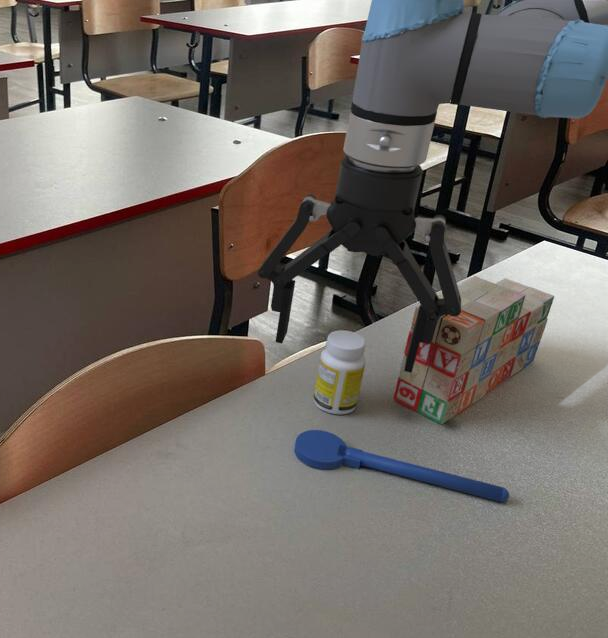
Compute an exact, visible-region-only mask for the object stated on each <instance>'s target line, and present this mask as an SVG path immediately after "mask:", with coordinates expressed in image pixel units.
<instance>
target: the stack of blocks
mask: <svg viewBox="0 0 608 638" xmlns="http://www.w3.org/2000/svg"><path fill="white" fill-rule="evenodd" d="M457 286H458V290H459V293H460V297H461V313H460V314H459V315H458V316H451V315H443V316H441V317H440V318H439V320H438V322H437V325H436V329H435V333H434V336H433V340H432V341H431V343H430V344H426V343H421V342H420V343H419V347H418V351H417V354H416V358H415V362H414V366H413V370H412V373H410V372H406V371H404V369H405V363H406V357H407V353H408V349H409V345H410V341H411V338H412V334H413V330H414V326H415V322H416V318H417V314H418V310H419V306H420V305H421V304H420V303H419V304H418V305H416V306H415V309H414V313H413V317H412V318H413V319H412V322H411V325H410V330H409V332H408V337H407V338H406V339H407V340H406V344H405V348H404V352H403V357H402V362H401V367H400V369H399V375H398V378H397V381H396V385H395V391H394V393H393V400H395V401H397V402H398V403H400V404H401V405H403V406H406V407H408V408H409V409H411V410H413V411H415V412H418V413H419V414H421V415H423V416H424V417H426V418H428V419H430V420H432V421H434V422H435V423H437V424H439V425H443V424H445V423H446V422H448V421H449V420H450V419H452V418H454V417H455V416H456V415H459V414H461V413H462V412H463V411H465V410H466V409H468V408H469V407H470V406H472V405H473V404H475V403H477V402H478V401H480V400H481V399H482V398H484V397H485V395H486V394H488V393H489V392H491V391H492V390H493V389H495V388H496V387H497V386H498V385H500V384H502V383H503V382H504V381H505V380H507V379H509V378H511V377H513V376H514V375H515V374H517V373H518V372H520V371H522V370H523V369H524V368H526V367H527V366H528V365H530V364H531V363H533V362H534V360H535V358H536V354H537V352H538V349H539V346H540V343H541V340H542V338H543V335H544V332H545V330H546V326H547V324H548V320H549V319H548V316H549V314H550V312H551V307H552V305H553V303H554V299H555V296H554V295H553V294H551V293H547V292H545V291H542V290H539V289H537V288H534V287H532V286H528V285H525V284H522V283H520V282H517V281H515V280H512V279H509V278H506V277H505V278H502V279H501V280H500V281H498V282H496V283H494V282H491V281H489V280H487V279H484V278H482V277H479V276H476V275H474V276H471V277H469V278H468V279H466V280H464V281H462V282H461V283H460V284H457ZM437 296H438V297H439V299H442V298H444V297H443V294H442V293H440V294H437ZM421 306H422V305H421Z"/></svg>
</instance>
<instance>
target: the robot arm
mask: <svg viewBox="0 0 608 638" xmlns="http://www.w3.org/2000/svg"><path fill="white" fill-rule="evenodd" d="M464 9H465V4H464V0H371V1H370V6H369V11H368V15H367V19H366V23H365V29H364V33H363V34H362V36H361V44H360V45H361V46H360V52H359V58H358V65H357V70H356V76H355V83H354V89H353V95H352V101H351V107H350V110H349V116H348V122H347V127H346V133H345V139H344V143H343V149H342V150H343V152H344V154H345V155H346V156H344V158H342V159H341V160H340V166H339V167H340V168H339V172H338V177H337V183H336V189H335V195H334V199H333V200H332V201H331V203H329V202H326V201H322V200H319V199H317V197H316V195H314V194H311V193H309V194H307V195H305V196H304V198H303V200H302V201H301V203H300V205H299V209H298V213H297V216H296V218H295V220H294V221H293V222H292V224H290V226H289V228H288V229H287V230H286V231H285V233H284V234H283V235H282V237H281V238H280V240H279V241H278V242H277V244H276V245H275V246H274V247H273V249H272V250H271V251H270V253H269V254H268V255H267V257H266V258H265V259H264V261H263V262H262V263H261V266H260V267H259V268H258V271H257V275H258V277H259V278H261V279H267V280H269V281H270V282H271V283H272V284H273V285H272V286H273V288H272V289H273V290H272V296H271V303H270V309H271V312H275V313H279V315H278V323H277V329H276V335H275V341H274V342H275V343H278V344H284V343H283V342H284V341H285V339H286V336H287V334H288V329H289V324H290V317H291V310H292V306H293V305H292V304H293V299H294V292H295V287H296V286H295V285H296V280H294V279H296V278H297V277H298V276H300V274H302V273H303V272H305V271H306V270H307V269H308V268H310V267H311V266H313V265H315V264H316V263H317V262H319V260H321V259H323V258H324V257H325V256H326V255H328V254H330V253H332V252H334V251H335V250H336V249H337V248H339V247H341V246H342V247H344V248H345V249H346V250H347V252H351V253H365V254H367V255H369V256H372V257H378V258H379V257H380V256H383V255H386V254H387V256H388V257H389V259H390V260H391V262H392V264H393V265H394V266H396V267H397V269H398V271H399V272H400V274H401V275H402V277H403V278H404V280H405V282H406V283H407V285H408V286H409V288H410V289H411V291H412V293H413V294H414V296H415V297H416V299H417V301H418V302H419V305H420V304H421V305H422V306H421V305H420V306H419V310H418V314H417V318H416V322H415V326H414V330H413V334H412V338H411V341H410V345H409V349H408V353H407V357H406V363H405V369H404V371H406V372H410V373H412V370H413V366H414V362H415V358H416V354H417V351H418V347H419V343H420V342H421V343H426V344H430V343H431V341H432V340H433V336H434V333H435V329H436V325H437V322H438V320H439V318H440V317H441V316H443V315H451V316H458V315H459V314H460V313H461V297H460V293H459V290H458V286H457V285H458V282H457V279H456V276H455V272H454V269H453V265H452V262H451V258H450V255H449V252H448V248H447V244H446V240H445V233H446V223H447V220H446V219H447V218H446V217H445V216H444V215H442V214H437V215H435V216H434V217H431V218H428V217H417V215H416V212H415V208H416V204H417V199H418V196H419V192H420V187H421V183H422V180H423V179H422V178H423V175H424V170H423V168H422V166H421V165H422V164H424V163H426V161H427V159H428V153H429V149H430V146H431V141H432V136H433V132H434V128H435V125H436V124H435V123H436V119H437V114H438V108H439V106H440V103H443V104H450V105H456V106H466V107H474V108H481V109H488V110H495V111H501V112H502V111H503V112H510V113H517V114H524V115H531V116H538V117H539V118H541V119H548V118H563V119H564V118H566V119H582V118H584V117H587V116H588V115H589V114H591V113H592V112H593V111H594V109H595V107H596V106H597V105H598V103H599V101H600V100H601V99H600V98H601V96H602V93H603V91H604V89H605V86H606V84H607V80H608V0H515V1H513V2H511V3H509V4H508V5H506V6H504V7H503V8H501V9H500V11H499V12H497V14H482V13H479V12H478V13H477V12H473V11H470V10H469V11H468V10H464ZM321 216H322V217H323V216H326V219H327V221H328V223H329V225H330V227H331V229H330V230H328V232H326V233H325V234H324V235H323V236H322V237H320V238H319V239H318V240H317V241H315V242H314V243H313V244H311V245H310V246H309V247H307V248H306V249H304V251H301V253H300V254H298V255H297V256H296V257H294V258H293V259H292V260H290V261H289V262H288V263H286V264H285V265H284V266H281V267H280V266H278V264H280V262H281V261H282V260H283V259H284V257H285V255H286V254H287V253H288V251H289V250H290V249H291V248H292V247H293V245H294V244H295V243H296V242H297V240H298V239H299V237H300V236H301V235H302V234H303V232H304V231H305V230H306V228H307V226H308V224H309V222H310V223H316V222H317V221H318V220H319V218H320V217H321ZM415 231H416V232H419V233H420V235H421V239H422V240H423V241H424V242H426V243H429V252H430V256H431V259H432V263H433V267H434V269H435V273H436V276H437V279H438V283H439V286H440V290H441V294H443V297H444V298H442V299H439V297H438V294H437V293H436V291H435V290H434V287H433V286H432V285H431V283H430V281H429V280H428V278H427V276H426V275H425V273H424V272H423V270H422V268H421V267H420V265H419V263H418V262H417V260H416V258H415V257H414V255H413V254H412V252H411V250H410V247H409V245H408V243H407V242H406V239H407V238H409V236H411V235H412V234H413V233H414V232H415Z"/></svg>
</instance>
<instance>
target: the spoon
mask: <svg viewBox="0 0 608 638" xmlns="http://www.w3.org/2000/svg"><path fill="white" fill-rule="evenodd" d="M293 449H294V450H293V451H294V453H295V456H296V457H297V458H298V459H299V460H300V461H301V462H302V463H303V464H305V465H307V466H309V467H311V468H314V469H318V470H327V471H329V470H334V469H338V468H340V467H341V466H344V467H349V468H353V469H357V470H359V469H360V466H362V467H366V468H370V469H373V470H377V471H380V472H384V473H389V474H392V475H396V476H400V477H404V478H407V479H411V480H416V481H419V482H422V483H427V484H431V485H434V486H439V487H442V488H446V489H450V490H453V491H459V492H461V493H465V494H469V495H472V496H476V497H479V498H484V499H487V500H491V501H496V502H499V503H505V502H506V501H508V500H509V498H510V492H509V490H507V488H505V487H503V486H499V485H497V484H492V483H488V482H484V481H480V480H476V479H472V478H469V477H464V476H461V475H456V474H453V473H448V472H444V471H441V470H437V469H433V468H430V467H426V466H422V465H418V464H414V463H411V462H406V461H402V460H399V459H394V458H391V457H387V456H383V455H378V454H375V453H372V452H368V451H363V449H359V448H355V447H352V446H347V444H346V442H345V441H344V440H343V439H342V438H341V437H339V436H338V435H336V434H335V433H332V432H329V431H326V430H321V429H309V430H306V431H302V432H300V433H299V434H298V435H297V437H296V438H295V442H294V447H293Z"/></svg>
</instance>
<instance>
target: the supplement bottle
mask: <svg viewBox="0 0 608 638" xmlns="http://www.w3.org/2000/svg"><path fill="white" fill-rule="evenodd" d="M365 349H366V340H365V338H364V337H363V336H362V335H360V334H358V333H357V332H354V331H350V330H342V329H341V330H340V329H339V330H334V331H331V332H329V334H328V335H327V338H326V343H325V347H324V349H322V351H321V353H320V357H319V363H318V368H317V375H316V379H315V387H314V391H313V402H314V404H315V406H317V408H319V409H320V410H321V411H323V412H326V413H329V414H333V415H348V414H350V413H353V412H354V411H355V409H356V408H357V405H358V401H359V395H360V391H361V385H362V381H363V377H364V372H365V366H366V357H365V355H364V353H365Z"/></svg>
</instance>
